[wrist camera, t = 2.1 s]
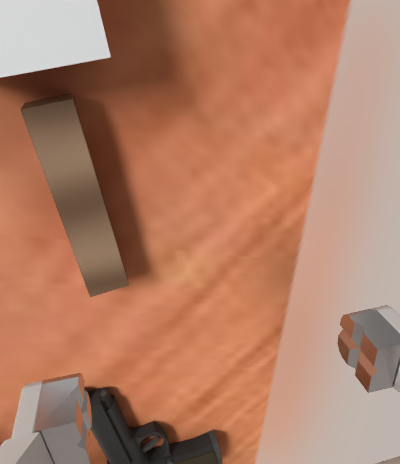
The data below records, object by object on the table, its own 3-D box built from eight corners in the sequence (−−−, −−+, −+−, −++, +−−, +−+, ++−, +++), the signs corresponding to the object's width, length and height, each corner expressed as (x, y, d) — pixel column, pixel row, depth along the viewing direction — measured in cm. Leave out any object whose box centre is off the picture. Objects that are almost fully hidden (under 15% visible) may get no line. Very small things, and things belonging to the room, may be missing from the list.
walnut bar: (124, 265, 32) (128, 285, 29) (88, 276, 31) (90, 297, 29) (72, 92, 25) (72, 99, 23) (25, 102, 25) (20, 109, 22)
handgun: (194, 360, 36) (69, 410, 34) (226, 469, 45) (129, 514, 43) (186, 341, 38) (68, 386, 36) (218, 449, 48) (126, 490, 45)
